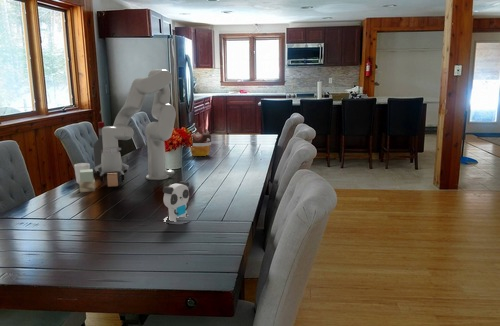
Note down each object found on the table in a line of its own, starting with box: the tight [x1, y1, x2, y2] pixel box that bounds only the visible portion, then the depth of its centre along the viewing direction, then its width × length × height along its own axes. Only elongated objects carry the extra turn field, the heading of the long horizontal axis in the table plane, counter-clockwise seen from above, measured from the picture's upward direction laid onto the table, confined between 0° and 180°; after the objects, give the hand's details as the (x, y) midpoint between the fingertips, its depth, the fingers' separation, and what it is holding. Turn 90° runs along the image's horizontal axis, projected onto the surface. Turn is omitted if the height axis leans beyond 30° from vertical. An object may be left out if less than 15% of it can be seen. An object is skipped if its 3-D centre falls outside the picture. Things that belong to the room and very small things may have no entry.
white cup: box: [73, 162, 91, 185], centre depth 226 cm, size 8×8×10 cm
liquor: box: [93, 121, 113, 175], centre depth 247 cm, size 9×9×30 cm
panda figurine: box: [162, 180, 190, 222], centre depth 167 cm, size 12×11×15 cm
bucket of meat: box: [189, 126, 212, 157], centre depth 304 cm, size 20×16×20 cm
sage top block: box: [80, 168, 94, 182], centre depth 211 cm, size 6×6×5 cm
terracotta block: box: [106, 172, 119, 188], centre depth 221 cm, size 5×5×6 cm
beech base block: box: [78, 177, 96, 193], centre depth 212 cm, size 7×7×5 cm
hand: (112, 182), depth 221 cm, fingers open, 9 cm apart
